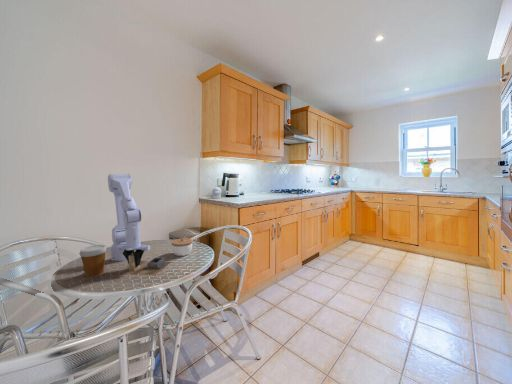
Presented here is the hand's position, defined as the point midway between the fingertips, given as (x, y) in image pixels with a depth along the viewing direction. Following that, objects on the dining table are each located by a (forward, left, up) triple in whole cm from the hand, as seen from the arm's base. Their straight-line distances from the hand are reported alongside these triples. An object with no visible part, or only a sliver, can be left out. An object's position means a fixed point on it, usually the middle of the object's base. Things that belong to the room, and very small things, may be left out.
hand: (134, 265), depth 98 cm
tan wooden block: (0, 0, -2) cm, 2 cm away
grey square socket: (+8, +4, -2) cm, 9 cm away
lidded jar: (+14, +20, -3) cm, 25 cm away
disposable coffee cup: (-15, -5, -3) cm, 16 cm away
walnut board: (+4, +2, -2) cm, 5 cm away
